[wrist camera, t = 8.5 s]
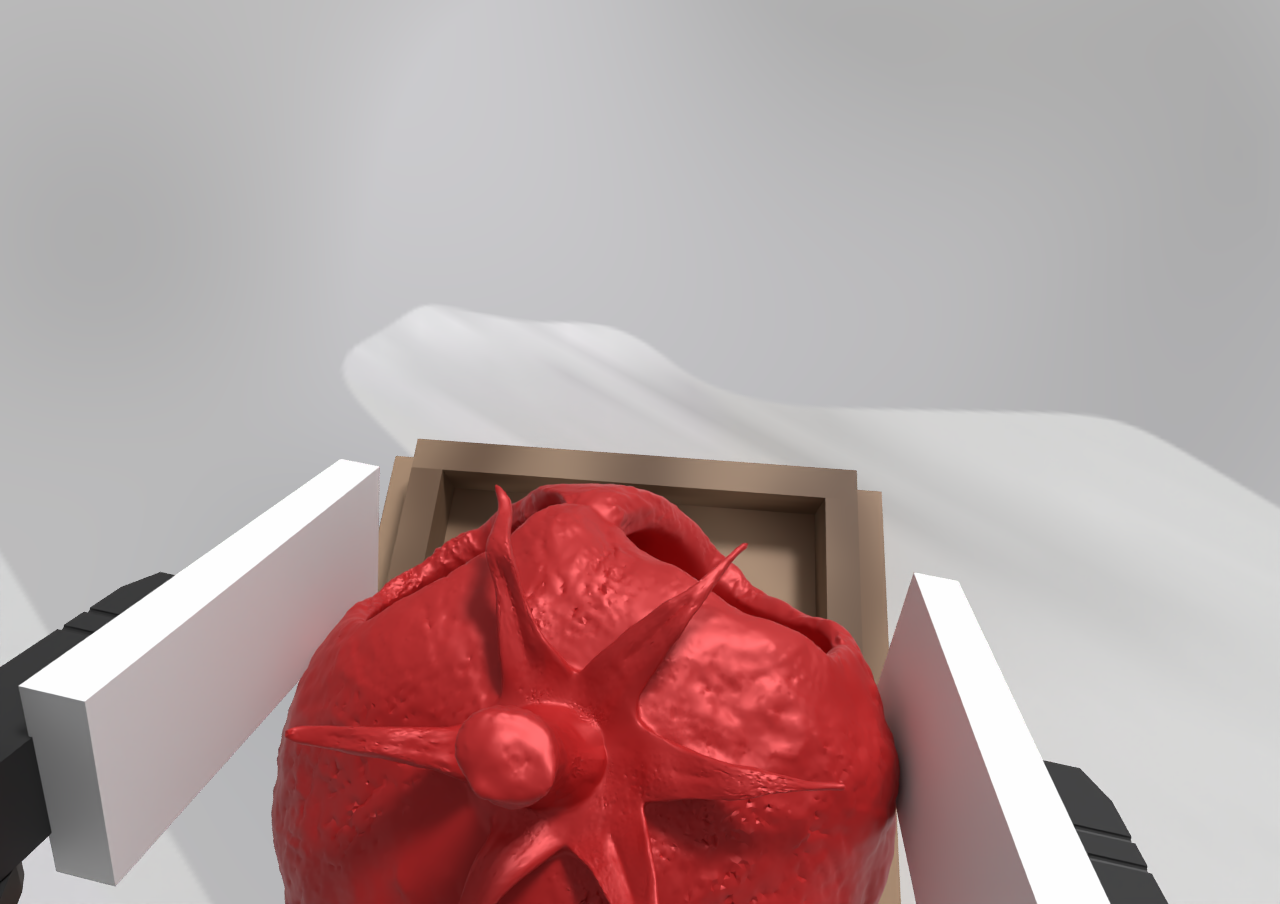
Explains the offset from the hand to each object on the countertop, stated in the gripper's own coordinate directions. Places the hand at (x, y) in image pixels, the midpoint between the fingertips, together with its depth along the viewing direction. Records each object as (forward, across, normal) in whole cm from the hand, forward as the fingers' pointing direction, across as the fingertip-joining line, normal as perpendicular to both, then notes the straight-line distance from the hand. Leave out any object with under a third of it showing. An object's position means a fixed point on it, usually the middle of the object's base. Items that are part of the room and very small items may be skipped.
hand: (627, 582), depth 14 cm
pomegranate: (+1, 0, -5) cm, 5 cm away
